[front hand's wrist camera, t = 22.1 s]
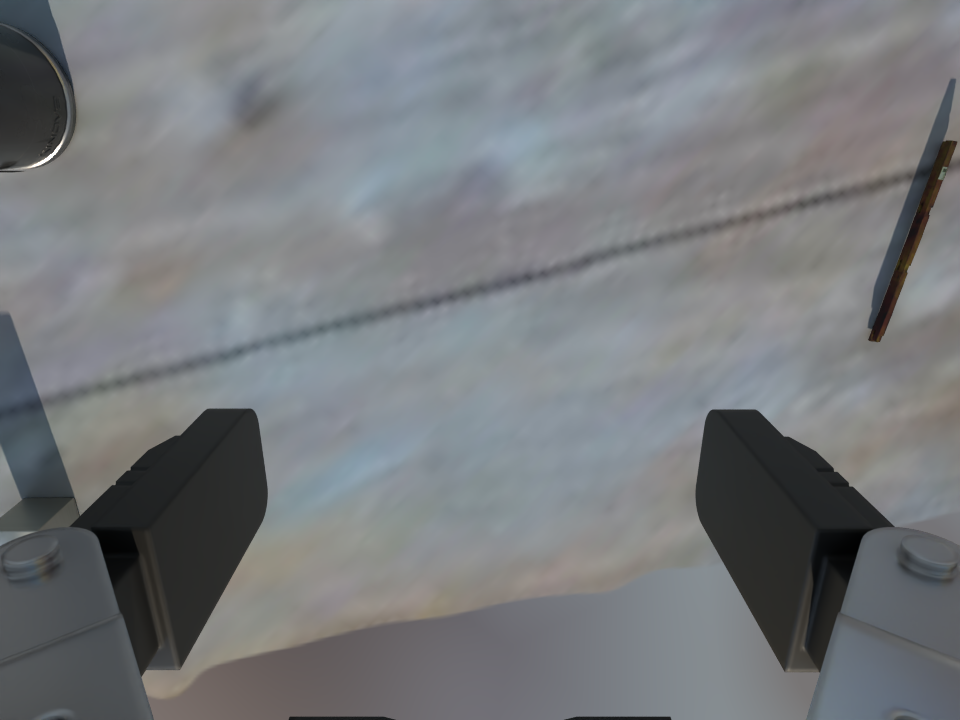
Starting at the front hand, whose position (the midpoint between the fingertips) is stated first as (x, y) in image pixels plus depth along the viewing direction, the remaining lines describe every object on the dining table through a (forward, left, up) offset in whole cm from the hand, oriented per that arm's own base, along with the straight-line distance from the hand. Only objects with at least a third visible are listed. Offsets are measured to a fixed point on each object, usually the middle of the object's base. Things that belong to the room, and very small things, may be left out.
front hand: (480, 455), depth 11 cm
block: (-21, -41, -37) cm, 59 cm away
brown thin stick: (+30, +12, -37) cm, 49 cm away
